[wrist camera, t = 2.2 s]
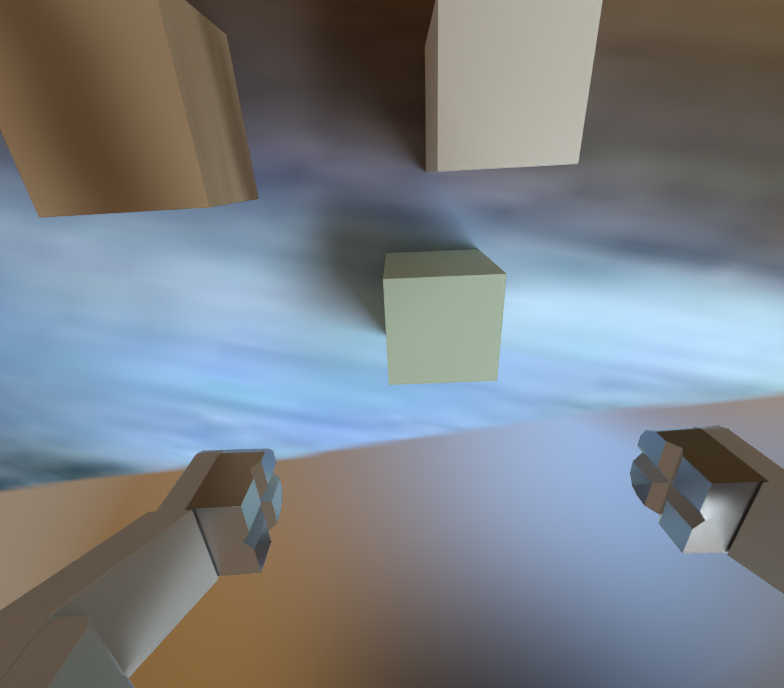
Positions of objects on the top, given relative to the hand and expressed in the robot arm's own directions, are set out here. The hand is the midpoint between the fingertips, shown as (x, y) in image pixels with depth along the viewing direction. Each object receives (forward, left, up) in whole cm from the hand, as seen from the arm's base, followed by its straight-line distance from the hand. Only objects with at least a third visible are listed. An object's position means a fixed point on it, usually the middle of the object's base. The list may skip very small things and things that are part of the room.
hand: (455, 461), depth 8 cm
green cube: (-1, 0, -12) cm, 12 cm away
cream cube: (-3, -8, -12) cm, 15 cm away
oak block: (+10, -8, -12) cm, 18 cm away
